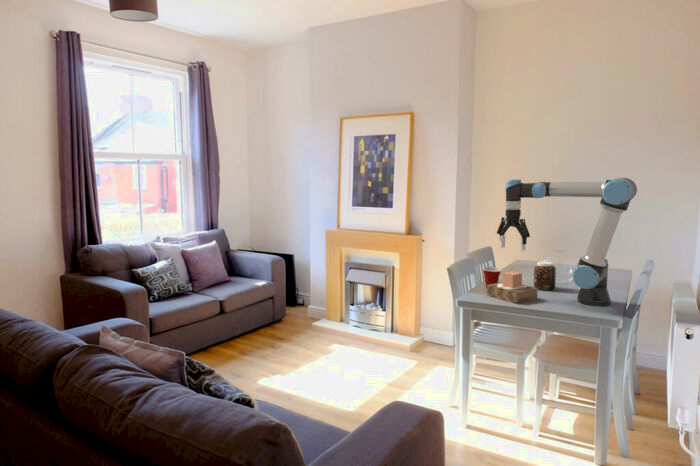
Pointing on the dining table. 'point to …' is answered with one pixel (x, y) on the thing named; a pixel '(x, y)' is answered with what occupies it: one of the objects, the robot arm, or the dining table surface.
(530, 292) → the block
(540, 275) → the jar
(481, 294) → the dining table surface
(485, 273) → the plastic cup
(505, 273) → the terracotta cube
